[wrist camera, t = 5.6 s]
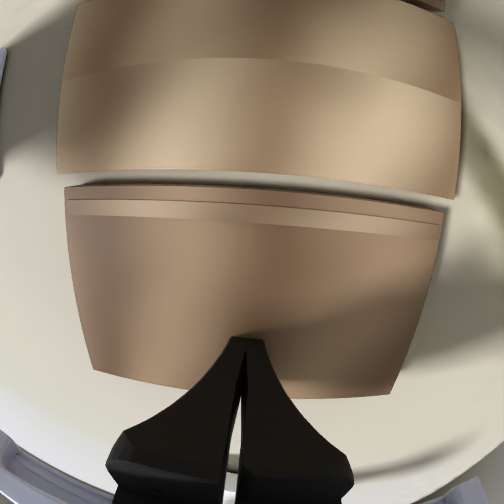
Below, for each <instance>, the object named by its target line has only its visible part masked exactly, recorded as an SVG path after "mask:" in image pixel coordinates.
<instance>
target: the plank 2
mask: <svg viewBox="0 0 504 504" xmlns="http://www.w3.org/2000/svg"><path fill="white" fill-rule="evenodd" d="M406 1H409V2H412V3H414V4H417V5H419V6H422V7H424V8H427V9H429V10H431V11H439V12H444V7H445V0H406Z"/></svg>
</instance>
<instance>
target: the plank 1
mask: <svg viewBox="0 0 504 504" xmlns="http://www.w3.org/2000/svg"><path fill="white" fill-rule="evenodd" d="M64 195H65V217H66V231H67V242H68V251H69V259H70V267H71V274H72V280H73V286H74V292H75V297H76V302H77V307H78V312H79V317H80V321H81V326H82V330H83V334H84V338H85V342H86V346H87V349H88V353H89V356H90V360H91V363H92V367H93V369H94V370H97V371H101V372H105V373H108V374H112V375H116V376H120V377H124V378H129V379H133V380H138V381H142V382H147V383H152V384H157V385H162V386H168V387H174V388H180V389H186V390H190V389H191V388H192V387H193V386H194V385H195V384H196V383H197V382H198V381H199V380H200V379H201V378H202V377H203V376H204V375H205V373H206V372H207V371H208V370H209V369H210V368H211V366H212V365H213V364H214V362H215V361H216V360H217V358H218V357H219V356H220V354H221V353H222V351H223V350H224V348H225V346H226V345H227V343H228V341H229V338H231V337H232V336H234V337H243V338H253V339H262V340H263V341H264V342H265V347H266V350H267V354H268V356H269V359H270V362H271V364H272V367H273V369H274V371H275V373H276V375H277V377H278V379H279V381H280V383H281V385H282V386H283V388H284V390H285V392H286V393H287V395H288V396H289V398H290V399H326V398H351V397H366V396H378V395H388V394H390V392H391V390H392V388H393V386H394V383H395V381H396V379H397V376H398V374H399V372H400V369H401V367H402V364H403V362H404V360H405V357H406V354H407V352H408V349H409V347H410V344H411V341H412V338H413V336H414V333H415V330H416V327H417V324H418V321H419V318H420V315H421V311H422V308H423V305H424V301H425V298H426V295H427V291H428V287H429V284H430V280H431V276H432V272H433V268H434V263H435V259H436V254H437V250H438V245H439V240H440V234H441V229H442V223H443V216H444V213H443V212H440V211H437V210H434V209H430V208H424V207H419V206H413V205H406V204H400V203H394V202H387V201H380V200H373V199H365V198H358V197H350V196H341V195H333V194H323V193H314V192H303V191H293V190H281V189H268V188H253V187H237V186H217V185H190V184H97V185H76V186H70V187H65V188H64Z"/></svg>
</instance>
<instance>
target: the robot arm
mask: <svg viewBox="0 0 504 504" xmlns="http://www.w3.org/2000/svg"><path fill="white" fill-rule="evenodd" d="M6 54H7V49H6V48H0V85H1V79H2V73H3V68H4V63H5V59H6ZM240 398H241V448H240V458H239V467H238V476H237V485H236V494H235V503H234V504H342V503H341V498H342V497H343V496H344V495H345V494H346V493H347V492H348V491H349V490H350V489H351V488H352V487H353V485H354V477H353V472H352V469H351V466H350V464H349V461H348V459H347V457H346V455H345V454H344V453H342V452H341V451H340V450H338V449H337V448H336V447H334V446H333V445H332V444H331V443H329V442H328V441H327V440H326V439H325V438H324V437H323V436H322V435H320V434H319V433H318V432H317V431H316V430H315V429H314V428H313V426H312V425H311V424H310V423H309V422H308V421H307V420H306V419H305V418H304V417H303V415H302V414H301V413H300V412H299V410H298V409H297V408H296V407H295V405H294V404H293V402H292V401H291V399H290V398H289V396H288V395H287V393H286V392H285V390H284V388H283V386H282V385H281V383H280V381H279V379H278V377H277V375H276V373H275V371H274V369H273V367H272V364H271V362H270V359H269V356H268V354H267V350H266V347H265V342H264V341H263V340H262V339H253V338H243V337H234V336H232V337H231V338H229V341H228V343H227V345H226V346H225V348H224V350H223V351H222V353H221V354H220V356H219V357H218V358H217V360H216V361H215V362H214V364H213V365H212V366H211V368H210V369H209V370H208V371H207V372H206V373H205V375H204V376H203V377H202V378H201V379H200V380H199V381H198V382H197V383H196V384H195V385H194V386H193V387H192V388H191V389H190V390H189V391H188V392H187V393H186V394H184V395H183V396H182V397H181V398H179V399H178V400H177V401H176V402H174V403H173V404H172V405H170V406H169V407H167V408H166V409H164V410H163V411H161V412H159V413H158V414H156V415H155V416H153V417H151V418H150V419H148V420H146V421H144V422H142V423H140V424H138V425H135V426H133V427H131V428H129V429H127V430H124V431H123V432H122V434H121V435H120V437H119V438H118V439H117V441H116V443H115V444H114V446H113V448H112V450H111V452H110V454H109V457H108V459H107V461H106V468H107V470H108V472H109V473H110V475H111V476H112V477H113V479H114V480H115V481H116V483H117V484H118V487H117V490H116V493H115V495H114V496H112V495H109V494H107V493H104V492H101V491H99V490H97V489H94V488H91V487H89V486H87V485H85V484H83V483H80V482H78V481H76V480H74V479H72V478H70V477H68V476H66V475H64V474H62V473H60V472H58V471H56V470H54V469H52V468H50V467H48V466H47V465H45V464H43V463H41V462H40V461H38V460H37V459H35V458H33V457H32V456H30V455H28V454H27V453H25V452H23V451H22V450H20V449H19V447H18V446H17V444H16V443H15V442H14V441H13V440H12V439H11V438H10V437H9V436H8V435H7V434H5V433H4V432H3V431H1V430H0V493H2V494H3V495H4V496H5V497H7V498H8V499H9V500H11V501H12V502H14V503H15V504H223V497H224V489H225V481H226V473H227V465H228V457H229V449H230V442H231V437H232V432H233V428H234V424H235V419H236V415H237V411H238V407H239V402H240ZM421 504H489V502H488V500H487V497H486V495H485V492H484V489H483V487H482V484H481V482H480V479H479V477H475V478H473V479H471V480H468V481H466V482H464V483H461V484H459V485H457V486H455V487H454V488H452V489H451V490H450V491H448V492H447V493H446V494H445V495H444V496H442V497H439V498H436V499H433V500H431V501H428V502H425V503H421Z"/></svg>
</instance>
